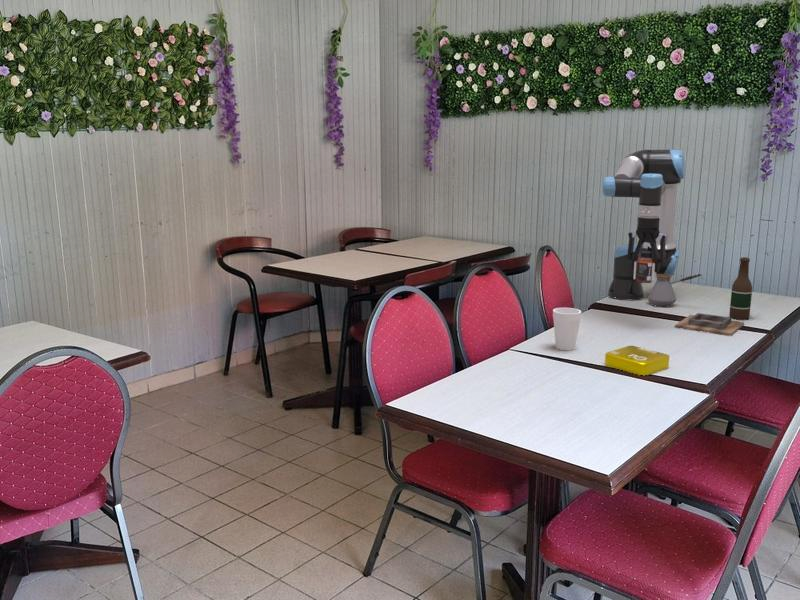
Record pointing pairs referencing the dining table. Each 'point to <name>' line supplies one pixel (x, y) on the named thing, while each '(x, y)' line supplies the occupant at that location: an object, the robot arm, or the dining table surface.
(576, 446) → the dining table surface
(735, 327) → the holder board
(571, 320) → the foam cup
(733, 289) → the beer bottle
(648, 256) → the supplement bottle
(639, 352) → the element tile
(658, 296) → the coffee pot
